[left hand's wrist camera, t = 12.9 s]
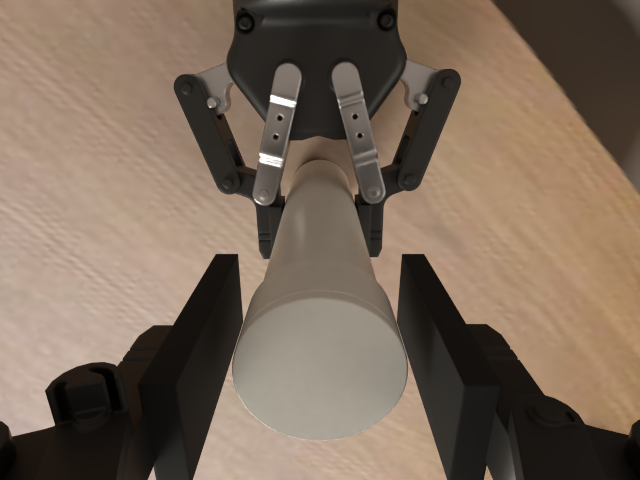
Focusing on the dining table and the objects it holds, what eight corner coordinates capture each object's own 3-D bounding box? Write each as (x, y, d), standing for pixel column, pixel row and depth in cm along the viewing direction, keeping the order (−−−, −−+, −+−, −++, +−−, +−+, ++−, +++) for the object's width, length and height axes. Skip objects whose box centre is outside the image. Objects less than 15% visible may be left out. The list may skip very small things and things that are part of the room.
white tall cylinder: (332, 148, 27) (354, 270, 10) (358, 199, 29) (420, 388, 11) (280, 177, 28) (213, 338, 10) (308, 225, 29) (291, 442, 12)
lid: (351, 231, 11) (359, 266, 9) (415, 347, 13) (436, 403, 11) (219, 297, 12) (196, 345, 10) (293, 400, 14) (288, 462, 11)
